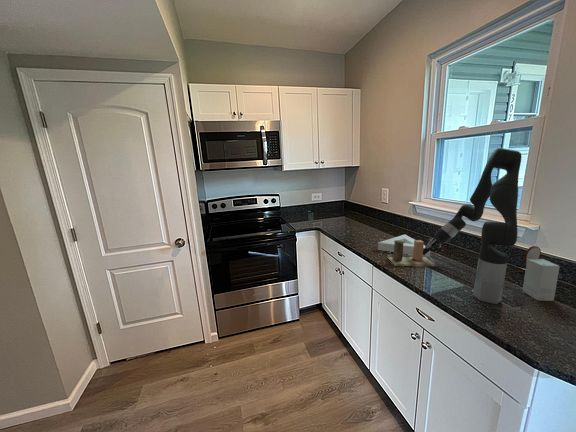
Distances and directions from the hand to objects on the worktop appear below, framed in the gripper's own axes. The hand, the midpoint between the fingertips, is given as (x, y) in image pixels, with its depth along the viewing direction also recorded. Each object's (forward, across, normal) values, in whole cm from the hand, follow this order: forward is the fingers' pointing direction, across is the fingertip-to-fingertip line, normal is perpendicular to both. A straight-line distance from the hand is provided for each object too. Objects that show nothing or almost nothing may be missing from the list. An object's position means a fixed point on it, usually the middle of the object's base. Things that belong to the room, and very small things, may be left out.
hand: (422, 253), depth 143 cm
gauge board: (+8, 0, -1) cm, 8 cm away
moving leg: (+4, -1, +1) cm, 4 cm away
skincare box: (-18, +37, +26) cm, 48 cm away
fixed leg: (+12, -1, -7) cm, 14 cm away
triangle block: (+4, -25, +4) cm, 26 cm away
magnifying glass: (-19, +30, +27) cm, 45 cm away
